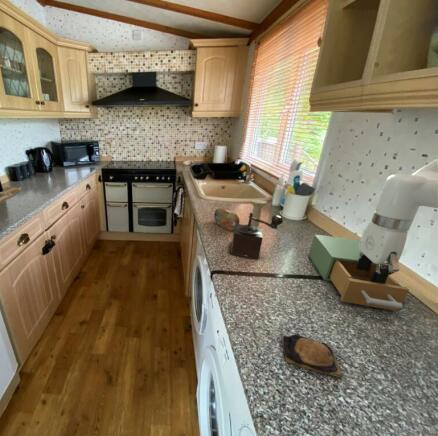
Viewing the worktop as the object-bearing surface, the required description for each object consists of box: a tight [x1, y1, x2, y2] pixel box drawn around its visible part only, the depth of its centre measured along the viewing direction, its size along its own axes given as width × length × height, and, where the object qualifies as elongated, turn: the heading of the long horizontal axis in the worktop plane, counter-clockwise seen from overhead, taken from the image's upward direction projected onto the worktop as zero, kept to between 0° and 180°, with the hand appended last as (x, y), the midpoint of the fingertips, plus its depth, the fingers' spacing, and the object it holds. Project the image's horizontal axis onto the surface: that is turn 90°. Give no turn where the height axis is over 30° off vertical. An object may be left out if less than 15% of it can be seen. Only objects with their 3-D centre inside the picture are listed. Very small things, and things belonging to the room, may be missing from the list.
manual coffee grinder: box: [230, 212, 284, 260], centre depth 94 cm, size 16×11×18 cm
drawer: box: [329, 259, 410, 312], centre depth 72 cm, size 20×13×7 cm, turn 164°
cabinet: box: [308, 234, 386, 282], centre depth 85 cm, size 17×15×9 cm
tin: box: [213, 208, 241, 231], centre depth 118 cm, size 15×3×8 cm, turn 25°
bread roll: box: [280, 333, 343, 378], centre depth 55 cm, size 11×8×4 cm
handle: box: [250, 199, 267, 227], centre depth 112 cm, size 5×6×15 cm
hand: (369, 276), depth 71 cm, fingers open, 6 cm apart
